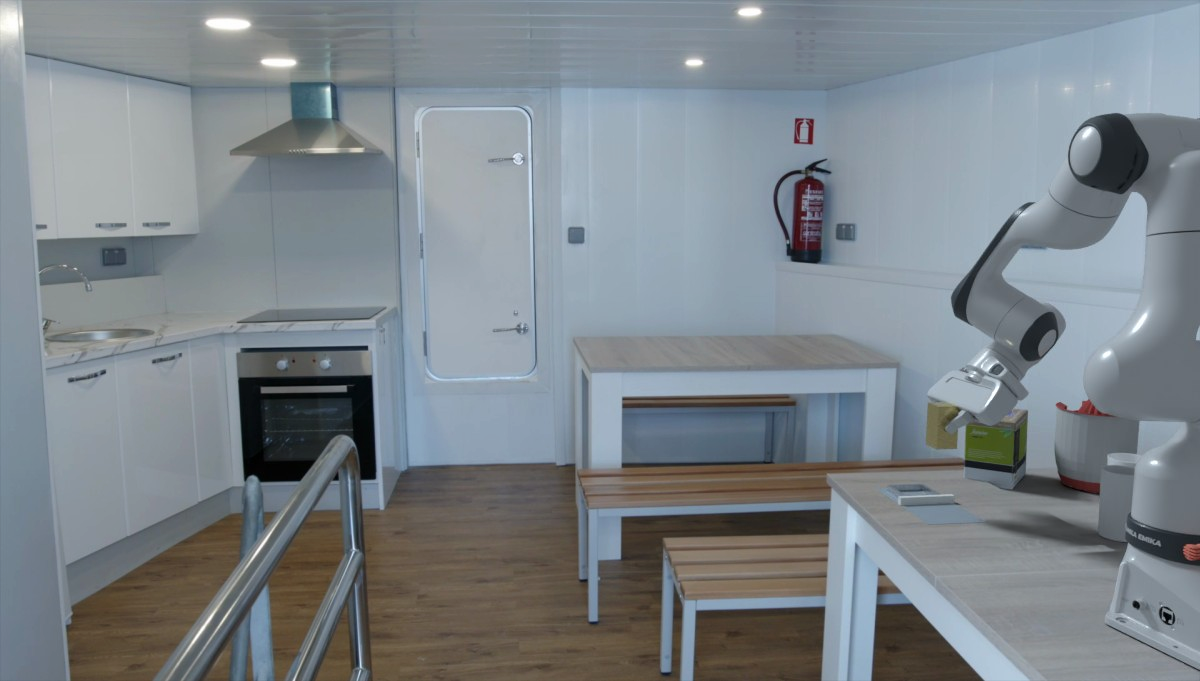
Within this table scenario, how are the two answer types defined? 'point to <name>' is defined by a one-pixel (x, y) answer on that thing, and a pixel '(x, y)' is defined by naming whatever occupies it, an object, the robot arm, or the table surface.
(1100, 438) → the citrus juicer
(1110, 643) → the table surface
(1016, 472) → the tea box
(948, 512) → the plate
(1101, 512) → the mug
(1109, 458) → the white cup
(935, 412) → the block
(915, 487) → the frame
